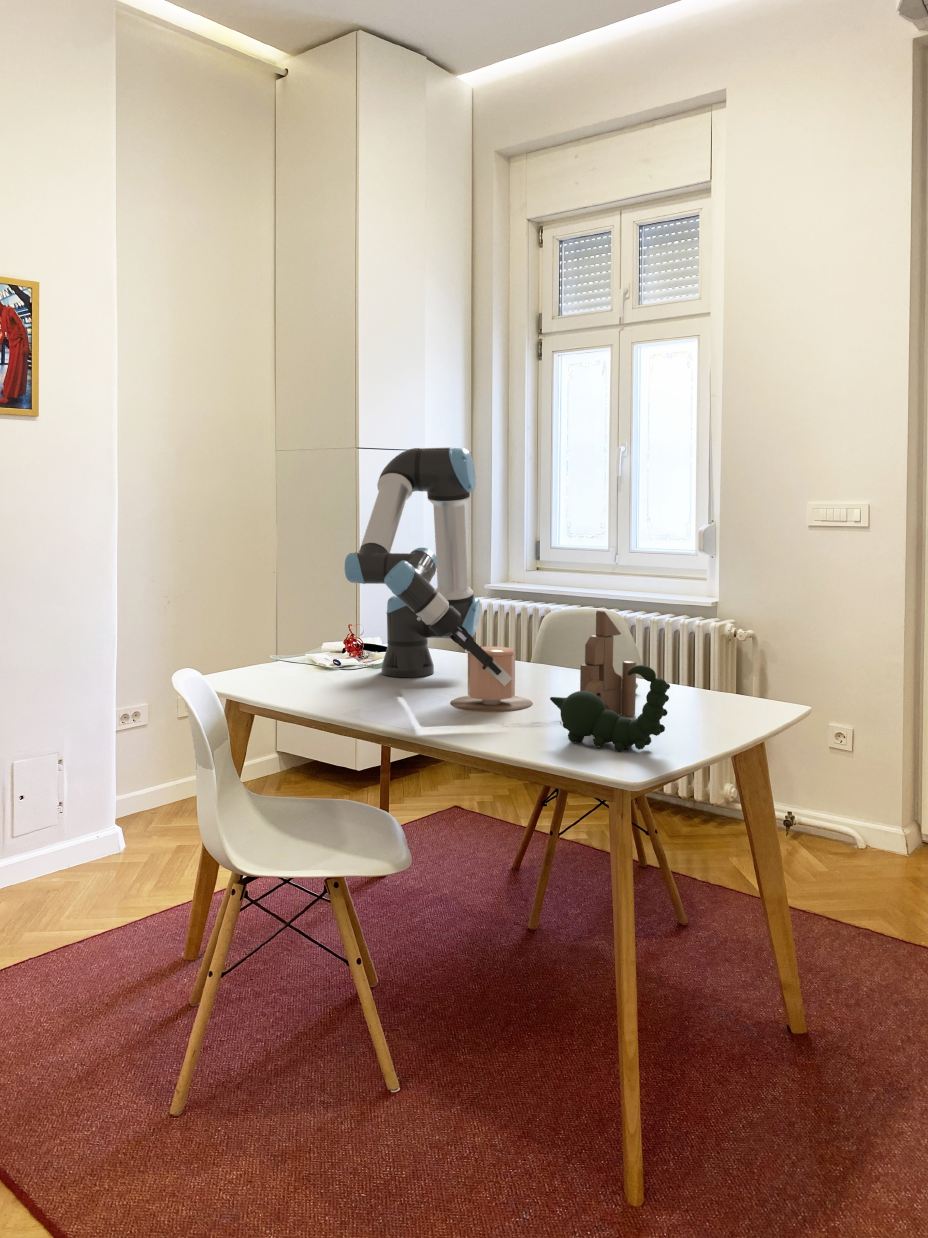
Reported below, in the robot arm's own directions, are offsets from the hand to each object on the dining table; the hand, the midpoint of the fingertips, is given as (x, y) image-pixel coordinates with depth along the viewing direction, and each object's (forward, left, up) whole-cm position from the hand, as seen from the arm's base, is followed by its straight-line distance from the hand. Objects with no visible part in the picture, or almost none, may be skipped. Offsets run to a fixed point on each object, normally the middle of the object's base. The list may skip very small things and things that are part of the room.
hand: (502, 677), depth 232 cm
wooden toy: (+14, +21, -8) cm, 27 cm away
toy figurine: (+38, +13, -8) cm, 41 cm away
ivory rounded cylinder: (0, -3, -6) cm, 7 cm away
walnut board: (0, -3, -8) cm, 8 cm away
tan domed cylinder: (0, -3, -4) cm, 5 cm away
